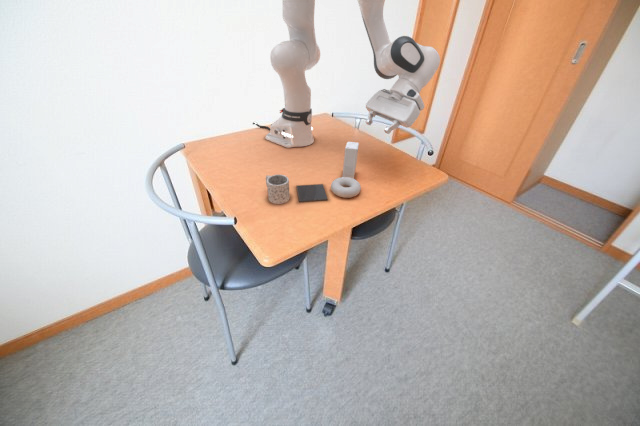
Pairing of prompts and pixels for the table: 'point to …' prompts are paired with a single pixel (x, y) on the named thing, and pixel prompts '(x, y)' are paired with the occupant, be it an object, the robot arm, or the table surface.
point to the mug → (278, 188)
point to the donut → (345, 187)
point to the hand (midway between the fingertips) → (376, 128)
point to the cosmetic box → (350, 159)
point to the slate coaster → (311, 193)
